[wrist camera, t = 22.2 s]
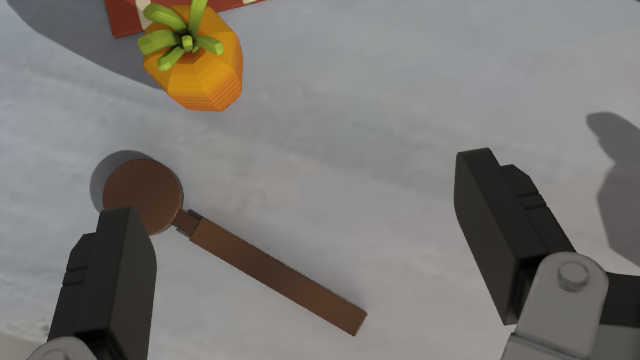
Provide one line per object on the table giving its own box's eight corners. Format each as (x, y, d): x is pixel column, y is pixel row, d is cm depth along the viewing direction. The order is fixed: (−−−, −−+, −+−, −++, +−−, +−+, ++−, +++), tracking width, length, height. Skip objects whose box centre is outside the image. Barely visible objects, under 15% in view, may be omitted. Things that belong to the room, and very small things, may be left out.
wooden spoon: (379, 289, 39) (380, 291, 37) (341, 357, 38) (342, 360, 37) (133, 147, 39) (128, 144, 38) (93, 212, 39) (87, 211, 38)
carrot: (242, 50, 40) (202, -57, 25) (268, 117, 39) (242, 50, 24) (173, 75, 40) (91, -18, 25) (198, 143, 39) (129, 91, 24)
